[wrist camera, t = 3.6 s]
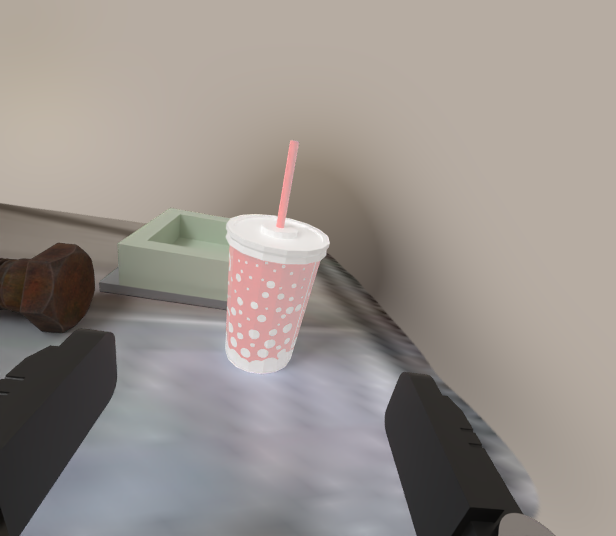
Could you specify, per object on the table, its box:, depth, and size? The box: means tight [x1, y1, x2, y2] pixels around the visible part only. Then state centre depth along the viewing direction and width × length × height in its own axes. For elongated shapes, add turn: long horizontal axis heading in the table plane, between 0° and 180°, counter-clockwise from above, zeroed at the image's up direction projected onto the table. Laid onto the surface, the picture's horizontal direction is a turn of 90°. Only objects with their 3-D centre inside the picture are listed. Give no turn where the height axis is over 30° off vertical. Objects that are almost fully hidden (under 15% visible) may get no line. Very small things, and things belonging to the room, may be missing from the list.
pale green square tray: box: [99, 208, 230, 310], centre depth 31 cm, size 14×14×4 cm
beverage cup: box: [225, 140, 330, 374], centre depth 20 cm, size 6×6×14 cm
